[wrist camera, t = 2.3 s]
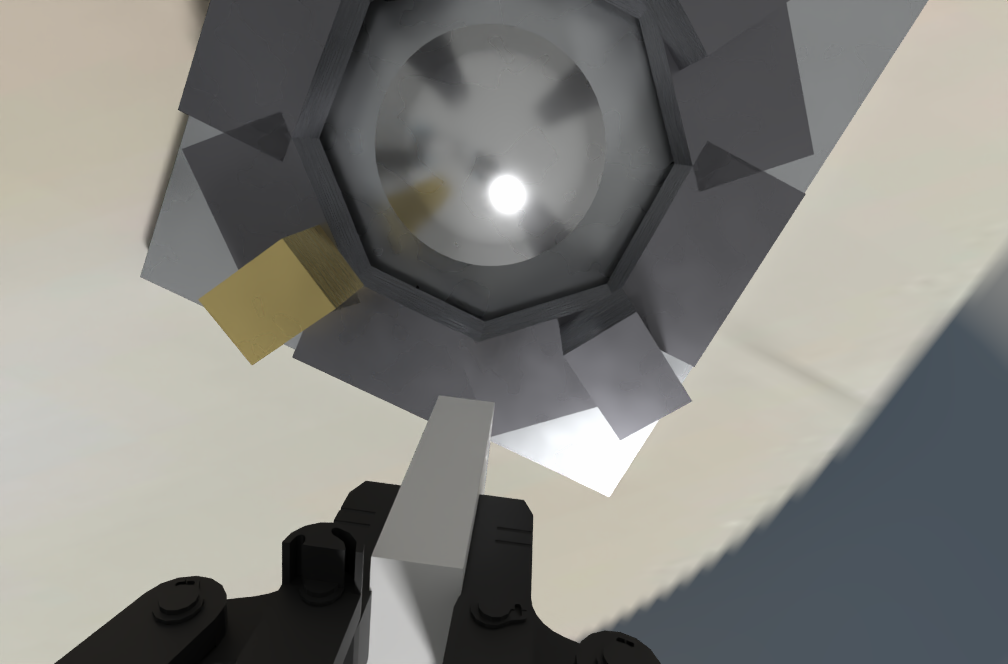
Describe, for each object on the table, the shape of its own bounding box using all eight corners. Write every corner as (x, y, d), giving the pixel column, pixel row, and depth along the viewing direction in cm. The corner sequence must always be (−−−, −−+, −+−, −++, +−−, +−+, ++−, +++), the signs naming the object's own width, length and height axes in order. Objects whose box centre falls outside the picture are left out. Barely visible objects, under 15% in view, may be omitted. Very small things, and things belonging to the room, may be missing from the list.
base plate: (155, 271, 24) (74, 298, 20) (342, -328, 18) (284, -472, 14) (606, 483, 26) (620, 550, 22) (911, 4, 20) (1012, -34, 16)
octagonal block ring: (170, 266, 23) (60, 302, 17) (349, -296, 17) (268, -488, 12) (599, 468, 24) (616, 557, 19) (883, 13, 19) (1017, -38, 14)
